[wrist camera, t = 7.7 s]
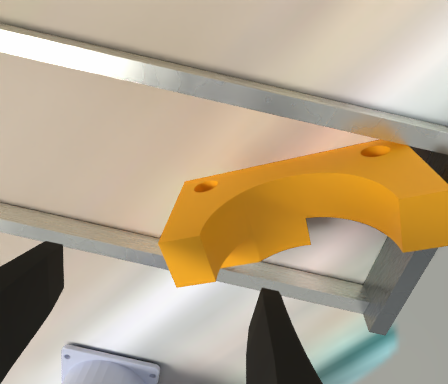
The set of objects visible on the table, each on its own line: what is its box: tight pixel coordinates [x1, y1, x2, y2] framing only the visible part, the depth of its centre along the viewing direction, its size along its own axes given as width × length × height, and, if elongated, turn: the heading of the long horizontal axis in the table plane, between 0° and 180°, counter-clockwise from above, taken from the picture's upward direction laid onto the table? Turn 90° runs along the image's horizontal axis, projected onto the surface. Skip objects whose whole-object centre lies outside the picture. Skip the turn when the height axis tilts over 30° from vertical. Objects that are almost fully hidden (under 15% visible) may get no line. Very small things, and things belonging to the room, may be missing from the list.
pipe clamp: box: [158, 139, 448, 287], centre depth 19 cm, size 12×4×6 cm, turn 106°
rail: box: [0, 23, 448, 335], centre depth 20 cm, size 12×30×3 cm, turn 78°
